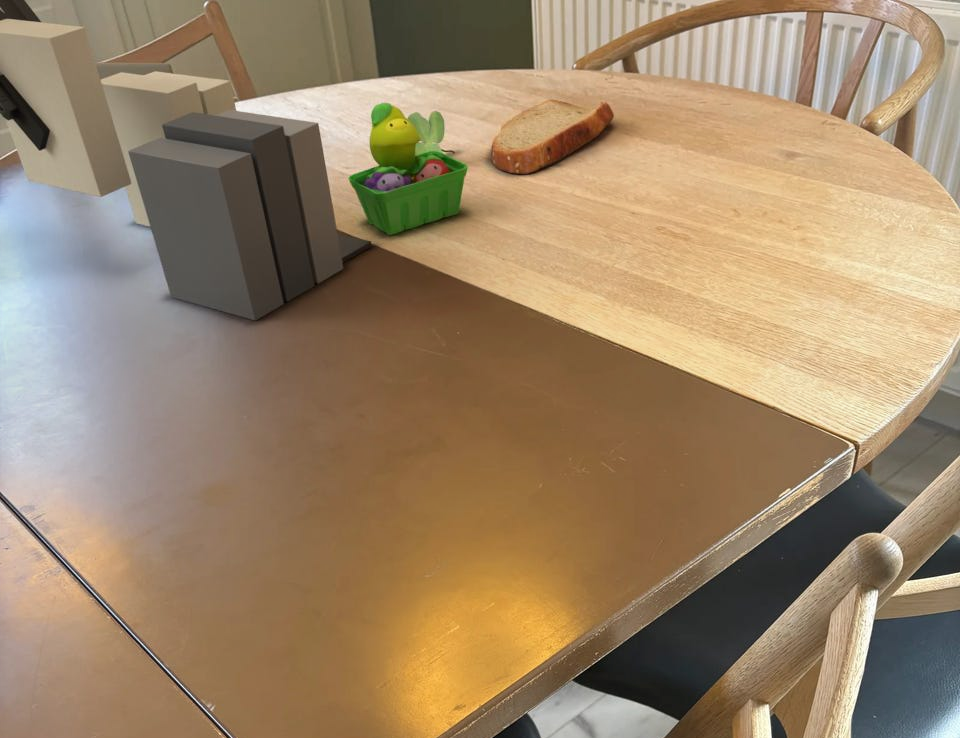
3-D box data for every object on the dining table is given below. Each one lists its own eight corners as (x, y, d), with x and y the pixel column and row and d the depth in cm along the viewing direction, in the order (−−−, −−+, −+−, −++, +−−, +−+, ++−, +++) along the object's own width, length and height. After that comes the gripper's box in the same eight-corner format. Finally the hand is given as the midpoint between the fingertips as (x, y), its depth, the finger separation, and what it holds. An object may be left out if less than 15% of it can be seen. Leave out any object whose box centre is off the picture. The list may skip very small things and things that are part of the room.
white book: (101, 197, 101) (49, 37, 91) (27, 180, 106) (-29, 28, 97) (132, 183, 103) (84, 26, 94) (58, 168, 109) (7, 18, 99)
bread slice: (503, 178, 120) (501, 145, 117) (469, 134, 133) (466, 103, 130) (647, 154, 122) (648, 121, 120) (599, 113, 135) (599, 82, 133)
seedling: (446, 201, 130) (414, 188, 124) (423, 148, 131) (391, 133, 126) (487, 164, 126) (456, 149, 120) (463, 110, 127) (431, 93, 122)
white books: (206, 240, 113) (167, 92, 103) (135, 223, 119) (92, 82, 108) (293, 196, 121) (265, 55, 111) (223, 182, 127) (190, 47, 117)
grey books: (255, 321, 97) (215, 155, 87) (171, 297, 102) (124, 139, 92) (379, 248, 108) (356, 93, 97) (296, 230, 113) (267, 82, 103)
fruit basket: (384, 242, 108) (368, 129, 101) (348, 219, 114) (330, 111, 107) (475, 214, 112) (466, 103, 105) (434, 193, 118) (423, 86, 110)
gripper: (-189, -87, 90) (-3, 134, 93) (-24, -119, 100) (138, 82, 103) (-188, -19, 96) (-14, 185, 100) (-33, -56, 106) (121, 132, 109)
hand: (63, 132), depth 101 cm, fingers closed on white book, 4 cm apart
